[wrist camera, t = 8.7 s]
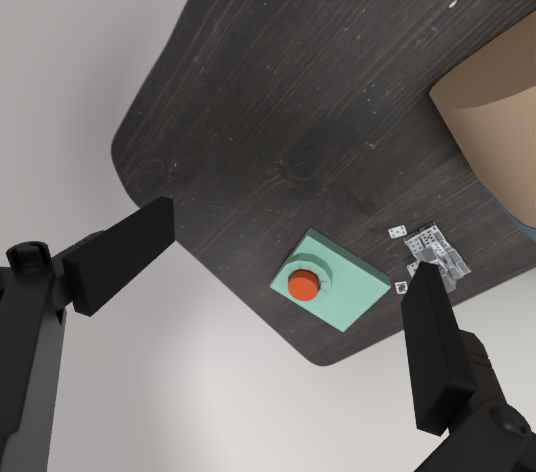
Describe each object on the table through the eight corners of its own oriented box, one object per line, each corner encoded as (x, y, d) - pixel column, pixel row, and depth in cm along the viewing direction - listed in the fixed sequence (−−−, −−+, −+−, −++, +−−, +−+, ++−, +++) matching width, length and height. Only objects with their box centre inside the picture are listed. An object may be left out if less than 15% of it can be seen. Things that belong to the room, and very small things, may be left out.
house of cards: (358, 245, 39) (356, 282, 32) (426, 207, 34) (440, 241, 28) (400, 296, 40) (406, 340, 34) (469, 266, 36) (491, 310, 29)
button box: (272, 276, 45) (264, 293, 41) (308, 226, 39) (302, 241, 36) (344, 321, 45) (342, 342, 41) (390, 276, 39) (391, 296, 36)
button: (285, 282, 40) (282, 291, 38) (299, 264, 38) (297, 272, 36) (309, 297, 40) (307, 306, 38) (324, 279, 38) (323, 288, 36)
